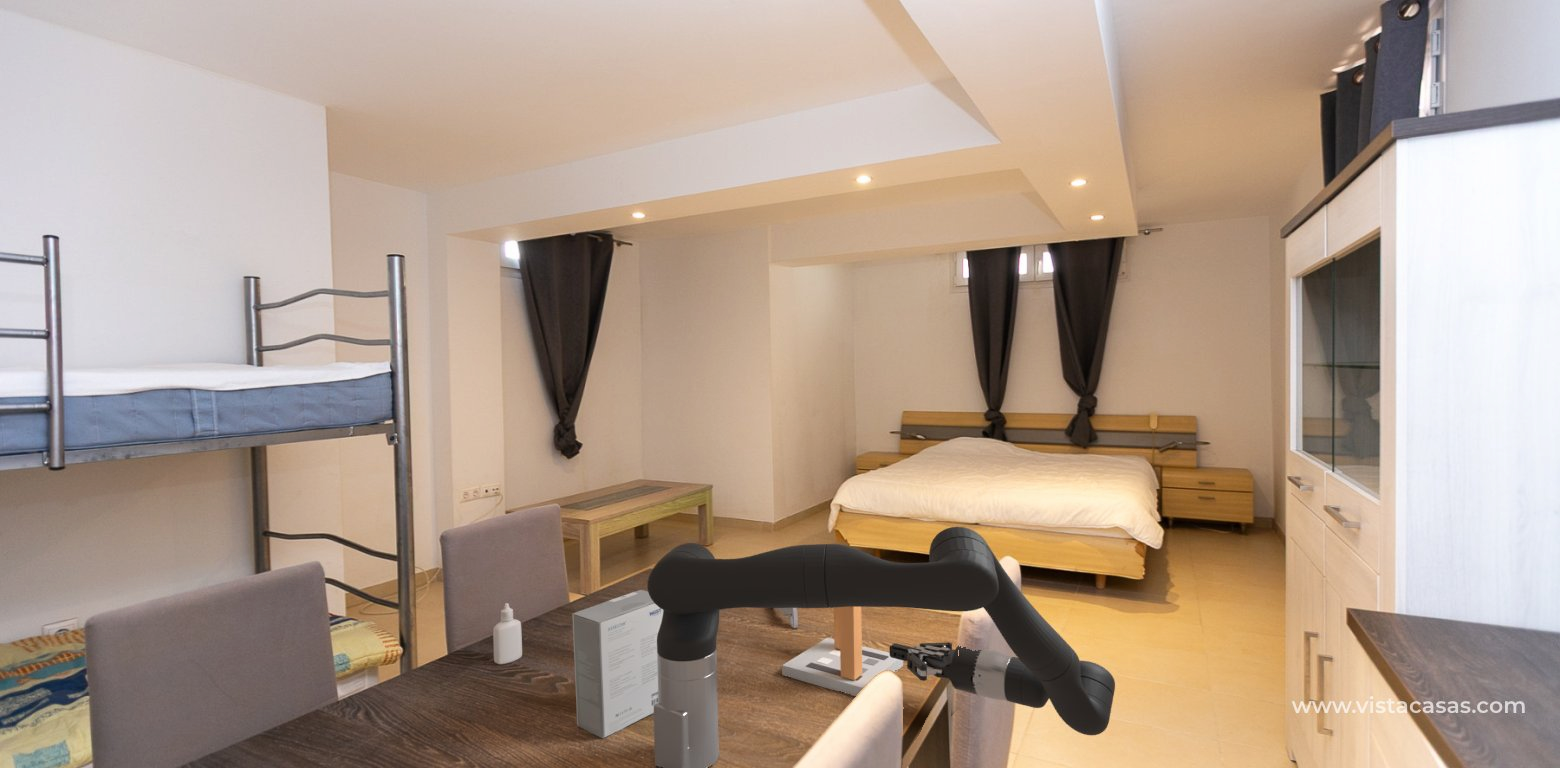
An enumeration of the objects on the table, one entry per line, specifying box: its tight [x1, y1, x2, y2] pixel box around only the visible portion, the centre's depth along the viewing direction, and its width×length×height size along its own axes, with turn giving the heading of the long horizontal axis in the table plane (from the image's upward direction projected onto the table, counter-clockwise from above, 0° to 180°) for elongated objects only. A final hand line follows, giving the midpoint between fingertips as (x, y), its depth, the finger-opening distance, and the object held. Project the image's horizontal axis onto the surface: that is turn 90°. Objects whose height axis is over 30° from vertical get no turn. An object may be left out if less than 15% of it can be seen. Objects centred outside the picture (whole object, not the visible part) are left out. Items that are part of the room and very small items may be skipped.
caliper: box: [774, 608, 799, 629], centre depth 177 cm, size 20×1×6 cm, turn 21°
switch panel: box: [781, 637, 904, 697], centre depth 144 cm, size 17×18×2 cm
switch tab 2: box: [840, 607, 863, 680], centre depth 137 cm, size 3×3×14 cm
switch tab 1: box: [833, 607, 840, 649], centre depth 150 cm, size 3×3×14 cm
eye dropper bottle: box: [492, 602, 523, 665], centre depth 152 cm, size 4×6×12 cm
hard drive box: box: [572, 589, 663, 739], centre depth 127 cm, size 16×8×20 cm, turn 141°
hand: (891, 649), depth 132 cm, fingers closed
